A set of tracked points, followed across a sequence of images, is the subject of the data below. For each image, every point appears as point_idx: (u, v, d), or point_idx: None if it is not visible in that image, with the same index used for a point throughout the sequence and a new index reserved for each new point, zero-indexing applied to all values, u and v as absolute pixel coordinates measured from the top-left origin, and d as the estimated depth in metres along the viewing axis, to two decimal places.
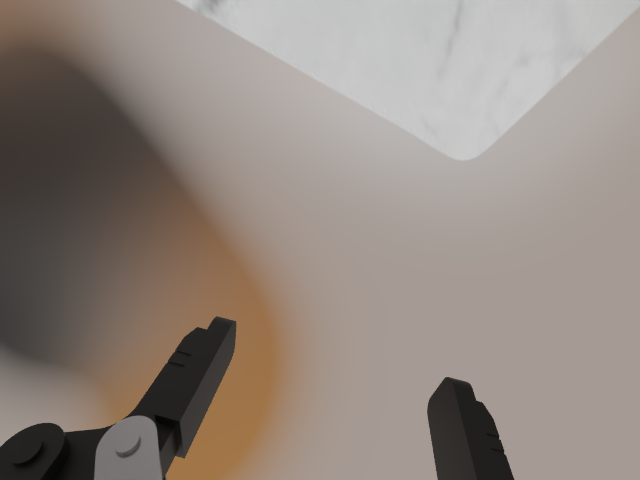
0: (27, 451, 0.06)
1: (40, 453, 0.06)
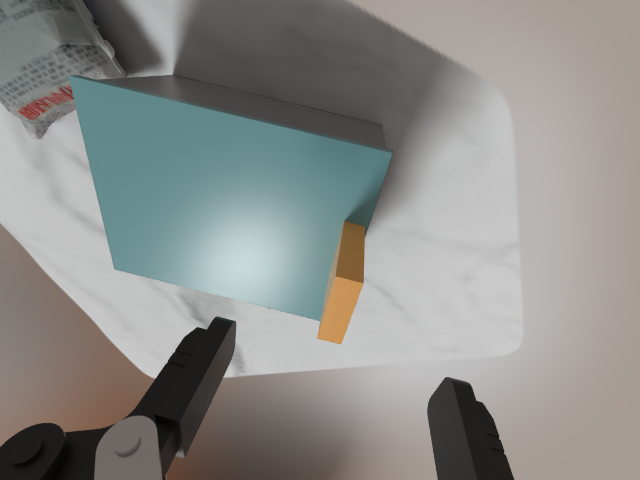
0: (27, 451, 0.06)
1: (40, 453, 0.06)
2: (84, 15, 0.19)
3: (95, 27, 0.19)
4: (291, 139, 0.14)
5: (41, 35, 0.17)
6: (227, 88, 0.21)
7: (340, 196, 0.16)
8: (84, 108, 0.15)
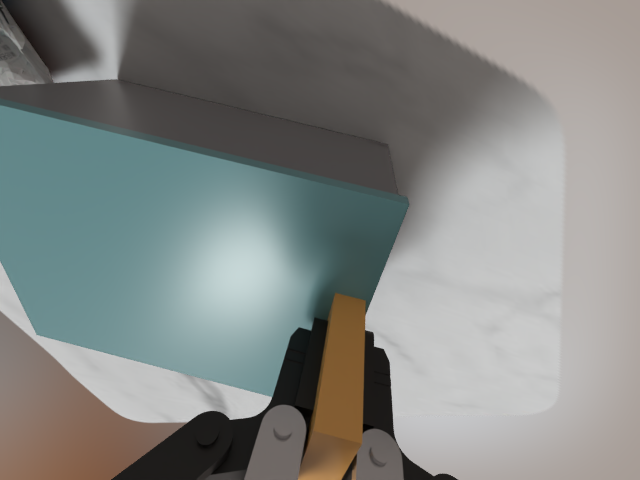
0: (207, 436, 0.07)
1: (217, 438, 0.07)
2: None
3: None
4: (252, 181, 0.09)
5: None
6: (187, 97, 0.17)
7: (329, 261, 0.11)
8: None
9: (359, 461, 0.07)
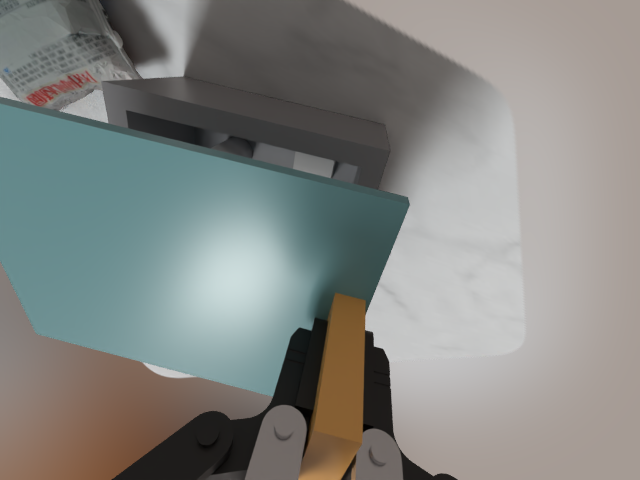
0: (207, 436, 0.07)
1: (218, 438, 0.07)
2: (94, 5, 0.19)
3: (105, 18, 0.19)
4: (253, 180, 0.09)
5: (52, 23, 0.18)
6: (236, 89, 0.22)
7: (329, 260, 0.11)
8: None
9: (359, 461, 0.07)
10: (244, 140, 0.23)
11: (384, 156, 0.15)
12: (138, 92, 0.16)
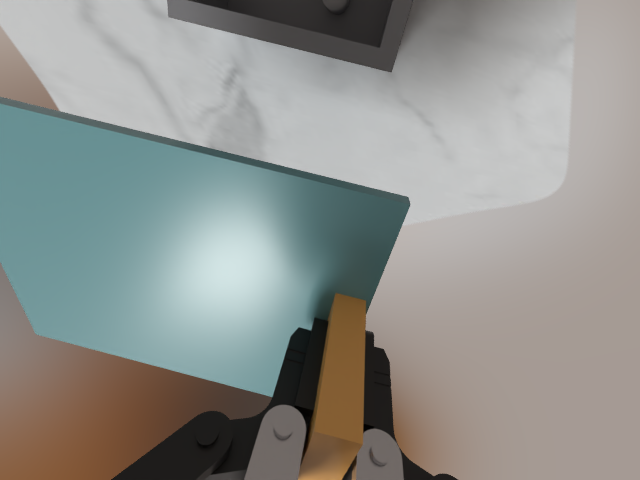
0: (207, 436, 0.07)
1: (217, 438, 0.07)
2: None
3: None
4: (253, 180, 0.09)
5: None
6: None
7: (329, 261, 0.10)
8: None
9: (359, 461, 0.07)
10: None
11: None
12: None
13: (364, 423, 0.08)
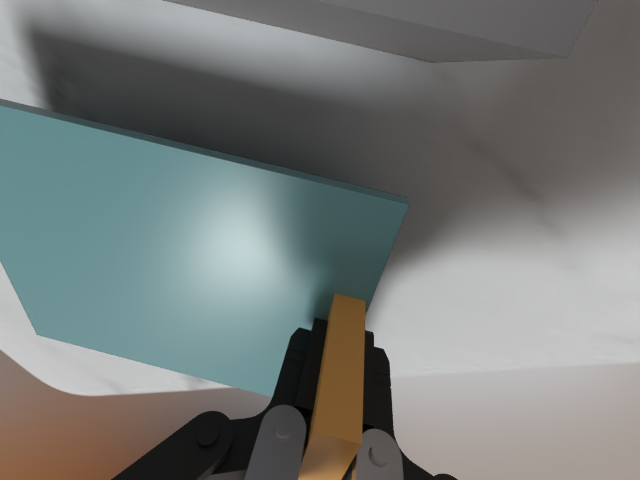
0: (207, 436, 0.07)
1: (217, 438, 0.07)
2: None
3: None
4: (252, 181, 0.09)
5: None
6: None
7: (329, 261, 0.11)
8: None
9: (359, 461, 0.07)
10: None
11: None
12: None
13: (364, 423, 0.08)
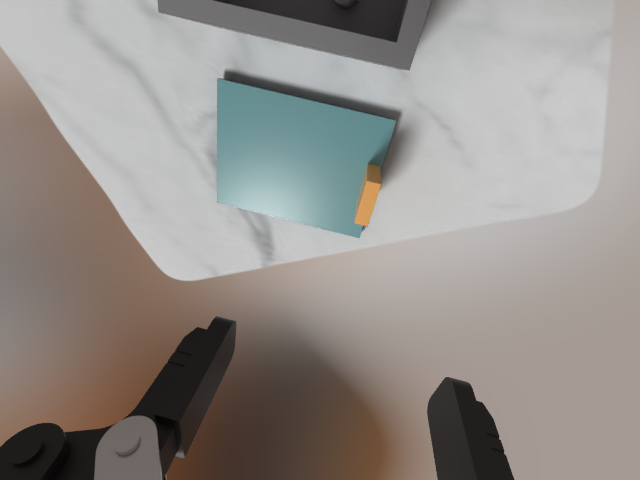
0: (26, 452, 0.06)
1: (40, 453, 0.06)
2: None
3: None
4: (340, 113, 0.26)
5: None
6: None
7: (366, 147, 0.27)
8: (222, 97, 0.27)
9: None
10: None
11: None
12: None
13: None
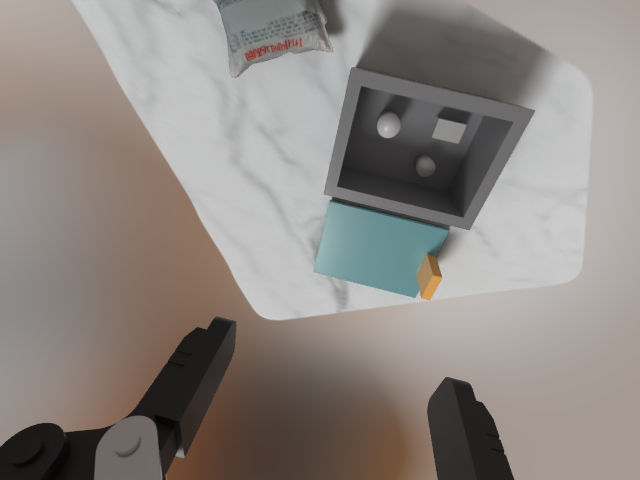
0: (26, 452, 0.06)
1: (40, 453, 0.06)
2: None
3: (318, 1, 0.28)
4: (411, 225, 0.39)
5: (294, 2, 0.26)
6: None
7: (426, 244, 0.40)
8: (331, 211, 0.40)
9: None
10: (395, 112, 0.33)
11: (530, 114, 0.25)
12: (374, 74, 0.25)
13: None
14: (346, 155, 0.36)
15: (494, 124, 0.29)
